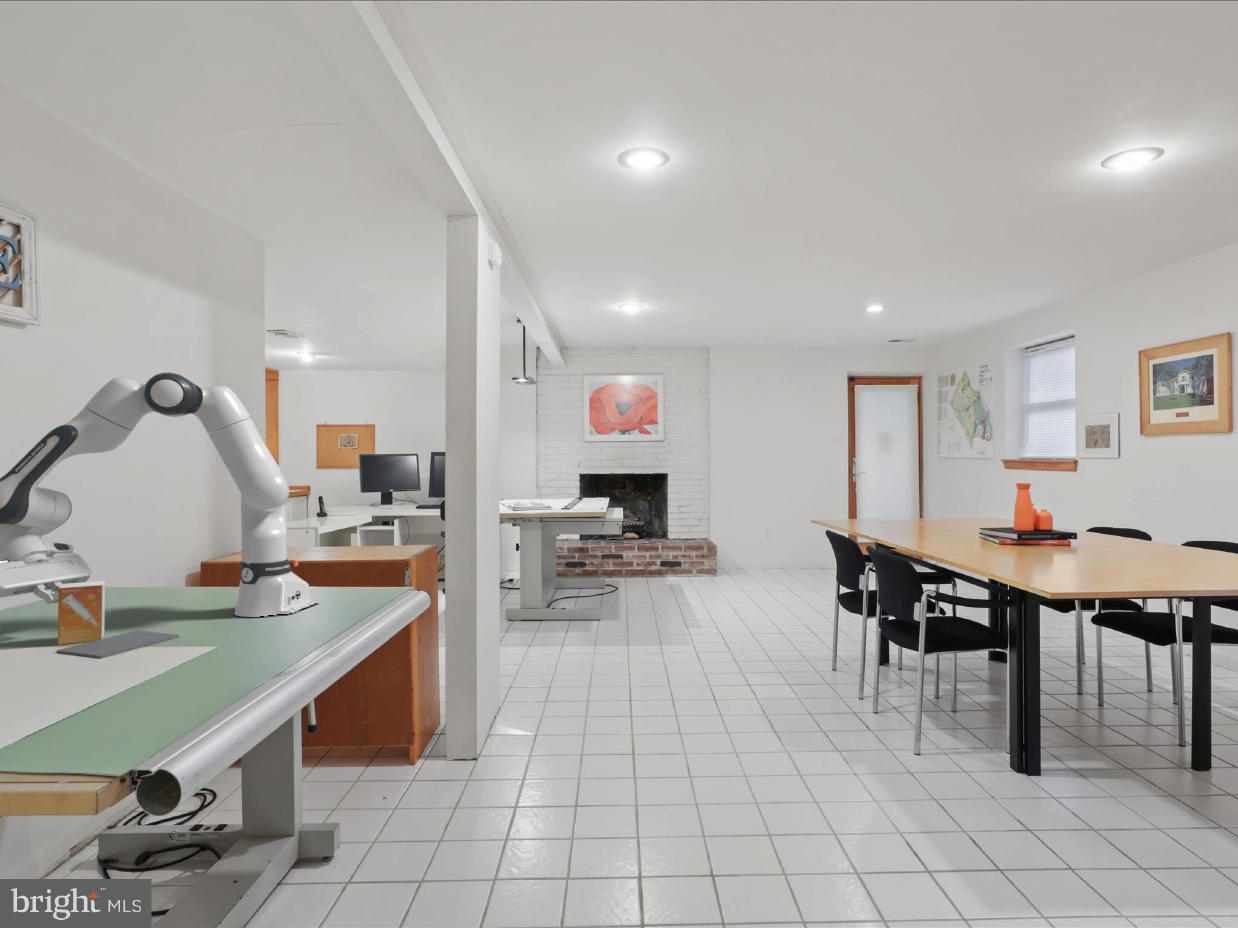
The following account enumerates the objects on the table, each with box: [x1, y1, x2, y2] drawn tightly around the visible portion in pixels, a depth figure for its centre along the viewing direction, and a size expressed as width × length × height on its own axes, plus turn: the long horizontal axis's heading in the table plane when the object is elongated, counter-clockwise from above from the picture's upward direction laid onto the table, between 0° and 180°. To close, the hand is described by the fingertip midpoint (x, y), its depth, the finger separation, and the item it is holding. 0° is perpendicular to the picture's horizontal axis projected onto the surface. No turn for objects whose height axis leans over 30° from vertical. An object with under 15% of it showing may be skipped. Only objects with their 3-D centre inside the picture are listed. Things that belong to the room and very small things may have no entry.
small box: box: [57, 580, 106, 646], centre depth 156 cm, size 8×6×13 cm
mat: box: [56, 630, 180, 659], centre depth 153 cm, size 18×13×1 cm
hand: (56, 601), depth 158 cm, fingers closed
